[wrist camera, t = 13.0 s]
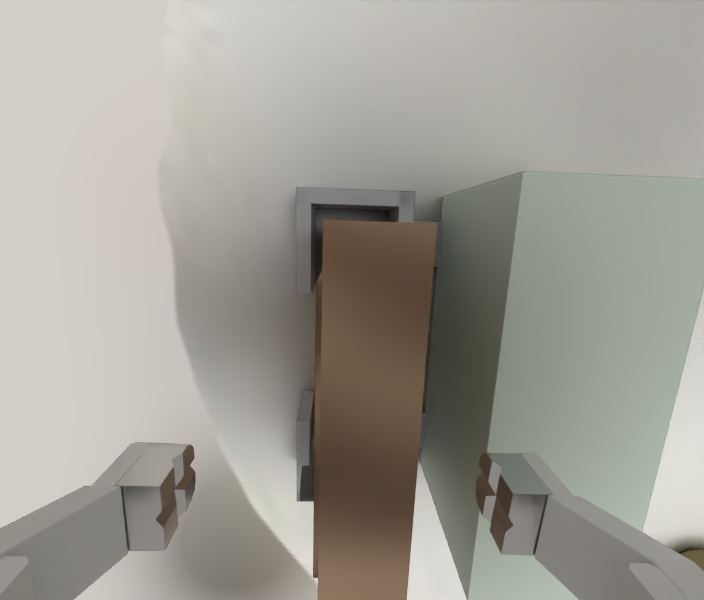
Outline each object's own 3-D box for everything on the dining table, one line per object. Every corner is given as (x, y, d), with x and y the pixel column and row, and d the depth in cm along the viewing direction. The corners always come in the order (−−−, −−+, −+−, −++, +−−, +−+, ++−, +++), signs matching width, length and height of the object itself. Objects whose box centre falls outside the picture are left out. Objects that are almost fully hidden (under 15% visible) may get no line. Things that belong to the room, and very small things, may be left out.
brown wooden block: (315, 224, 22) (276, 218, 9) (378, 226, 23) (437, 223, 9) (313, 439, 26) (282, 680, 12) (368, 439, 26) (400, 677, 12)
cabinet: (303, 462, 26) (281, 603, 16) (303, 191, 22) (274, 161, 12) (520, 463, 27) (625, 599, 17) (561, 200, 23) (730, 179, 13)
